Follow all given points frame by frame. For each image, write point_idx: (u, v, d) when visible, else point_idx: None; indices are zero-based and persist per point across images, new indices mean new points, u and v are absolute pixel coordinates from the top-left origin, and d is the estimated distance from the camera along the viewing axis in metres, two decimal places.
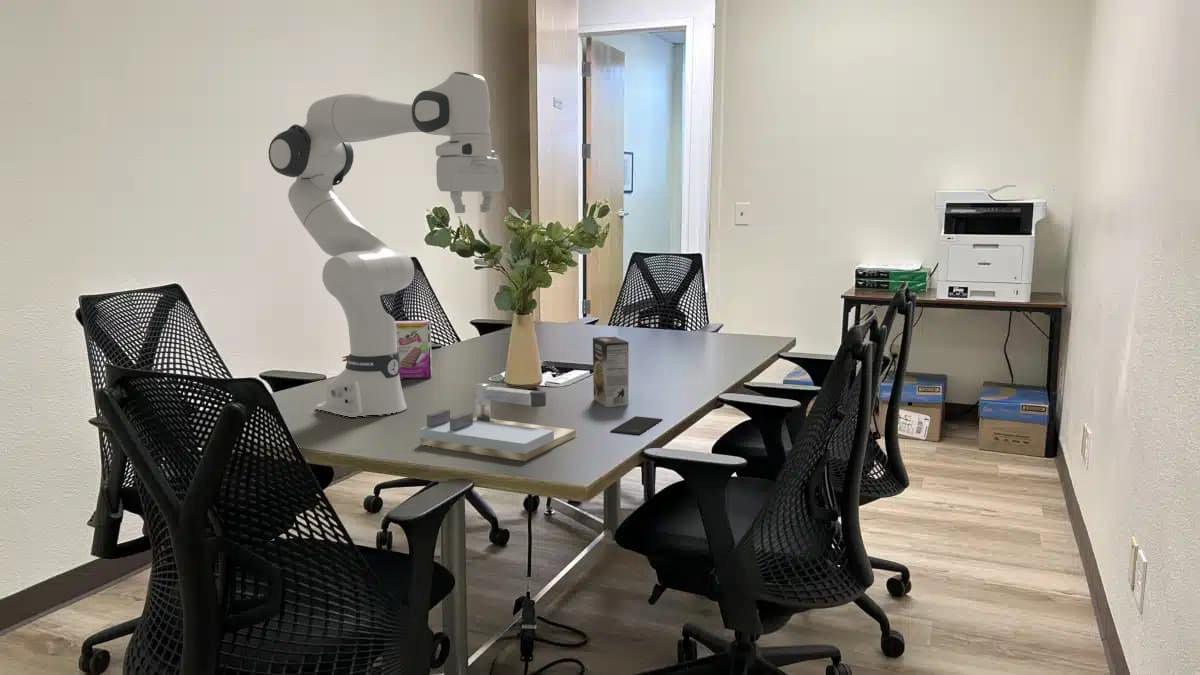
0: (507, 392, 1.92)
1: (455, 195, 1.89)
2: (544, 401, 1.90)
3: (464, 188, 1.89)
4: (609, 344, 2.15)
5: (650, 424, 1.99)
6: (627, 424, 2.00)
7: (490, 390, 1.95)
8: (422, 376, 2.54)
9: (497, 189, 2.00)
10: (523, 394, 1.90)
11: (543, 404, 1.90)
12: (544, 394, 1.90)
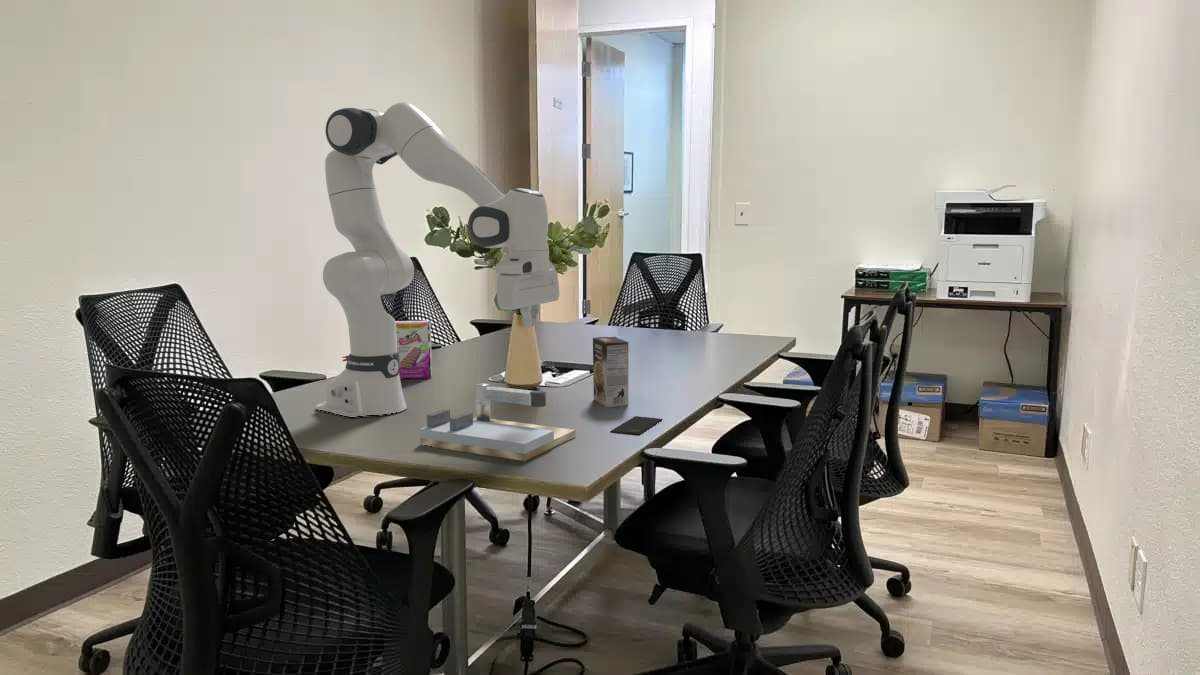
0: (507, 392, 1.92)
1: (525, 309, 1.93)
2: (544, 401, 1.90)
3: (524, 305, 1.90)
4: (609, 344, 2.15)
5: (650, 424, 1.99)
6: (627, 424, 2.00)
7: (490, 390, 1.95)
8: (422, 376, 2.54)
9: (553, 299, 2.01)
10: (523, 394, 1.90)
11: (543, 404, 1.90)
12: (544, 394, 1.90)
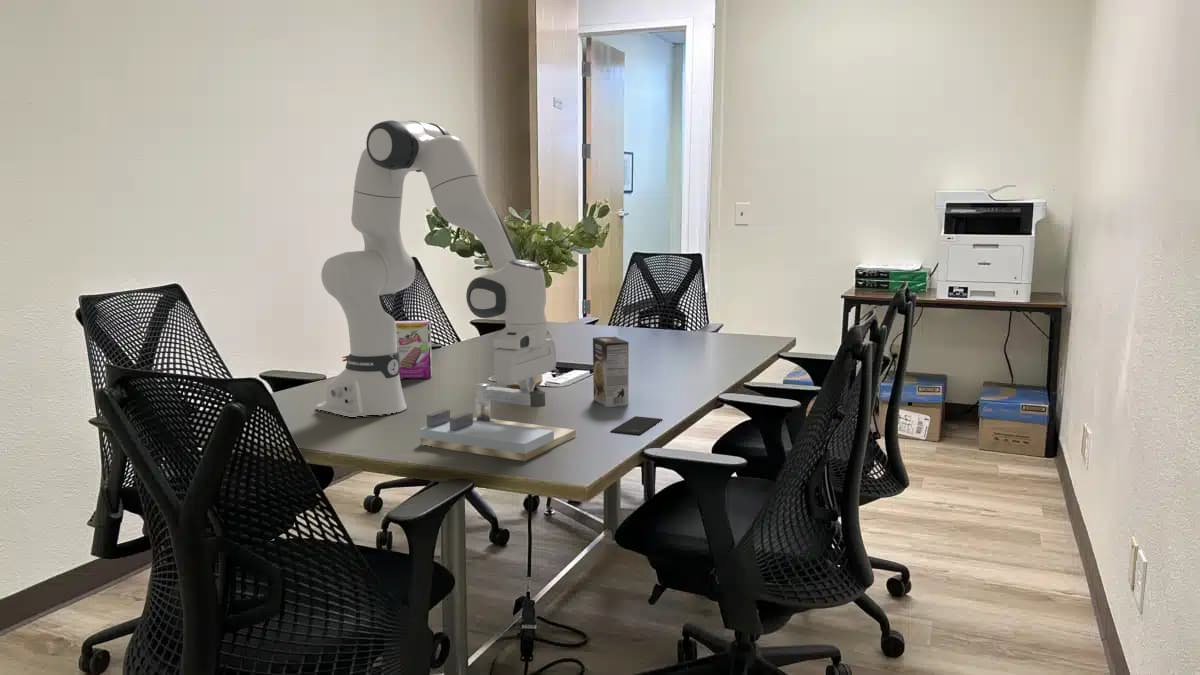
0: (507, 392, 1.92)
1: (523, 381, 1.92)
2: (544, 401, 1.90)
3: (521, 378, 1.89)
4: (609, 344, 2.15)
5: (650, 424, 1.99)
6: (627, 424, 2.00)
7: (490, 390, 1.94)
8: (422, 376, 2.54)
9: (550, 369, 2.00)
10: (522, 394, 1.90)
11: (542, 404, 1.90)
12: (543, 394, 1.90)
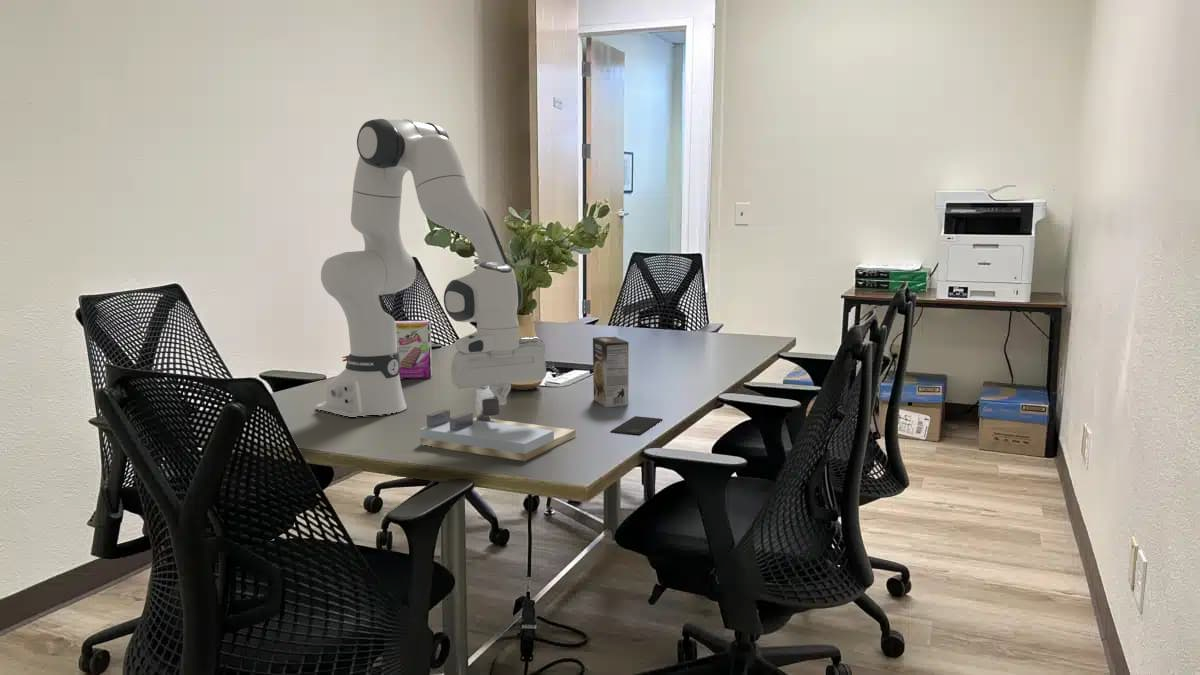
0: (479, 395, 1.90)
1: (491, 387, 1.86)
2: (492, 410, 1.82)
3: (478, 384, 1.84)
4: (609, 344, 2.15)
5: (650, 424, 1.99)
6: (627, 424, 2.00)
7: (477, 391, 1.94)
8: (422, 376, 2.54)
9: (534, 379, 1.89)
10: (481, 400, 1.86)
11: (489, 413, 1.82)
12: (491, 403, 1.82)
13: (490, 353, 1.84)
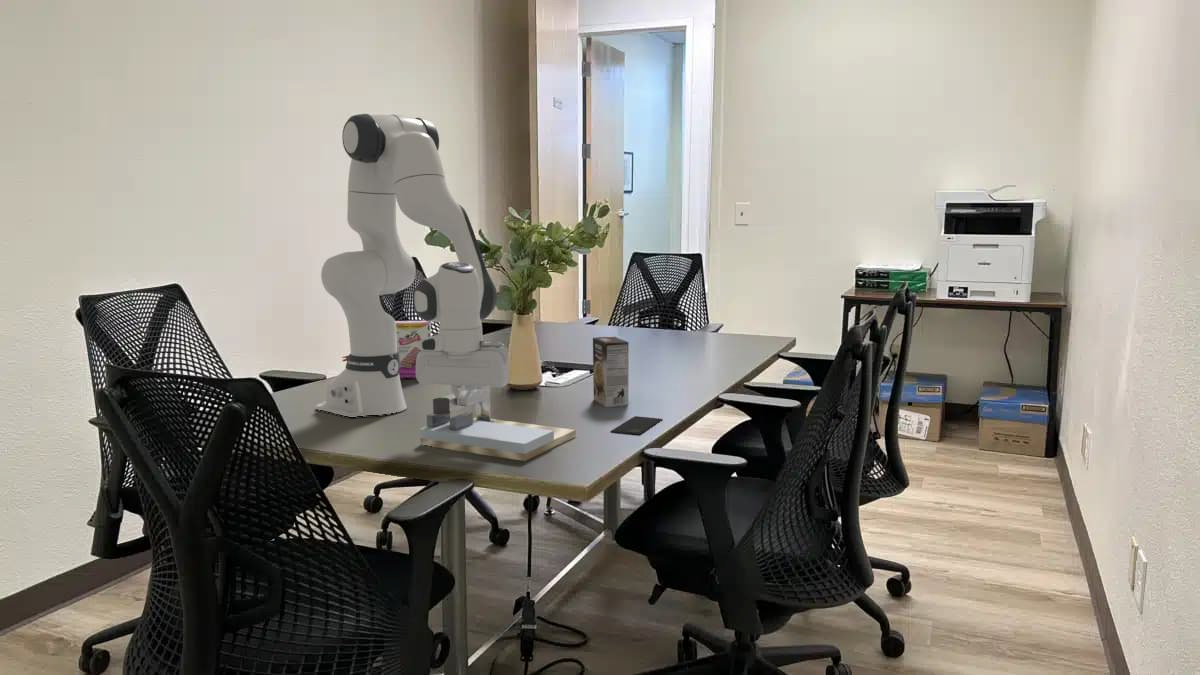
0: None
1: None
2: (436, 409, 1.83)
3: (436, 381, 1.86)
4: (609, 344, 2.15)
5: (650, 424, 1.99)
6: (627, 424, 2.00)
7: None
8: None
9: (491, 384, 1.83)
10: None
11: (435, 412, 1.84)
12: (436, 402, 1.83)
13: (447, 353, 1.84)
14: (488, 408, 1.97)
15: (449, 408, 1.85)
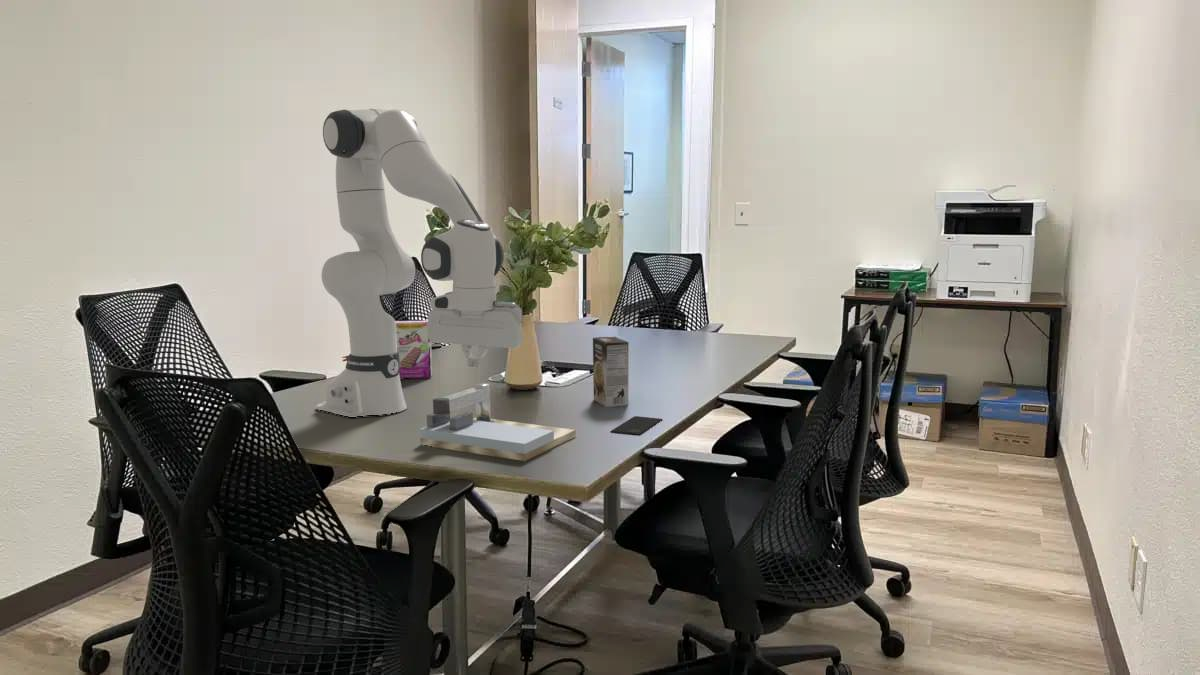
0: None
1: None
2: (436, 409, 1.83)
3: (448, 341, 1.83)
4: (609, 344, 2.15)
5: (650, 424, 1.99)
6: (627, 424, 2.00)
7: None
8: (422, 376, 2.54)
9: (503, 345, 1.80)
10: None
11: (435, 412, 1.84)
12: (436, 402, 1.83)
13: (459, 312, 1.81)
14: (488, 408, 1.97)
15: (449, 408, 1.85)
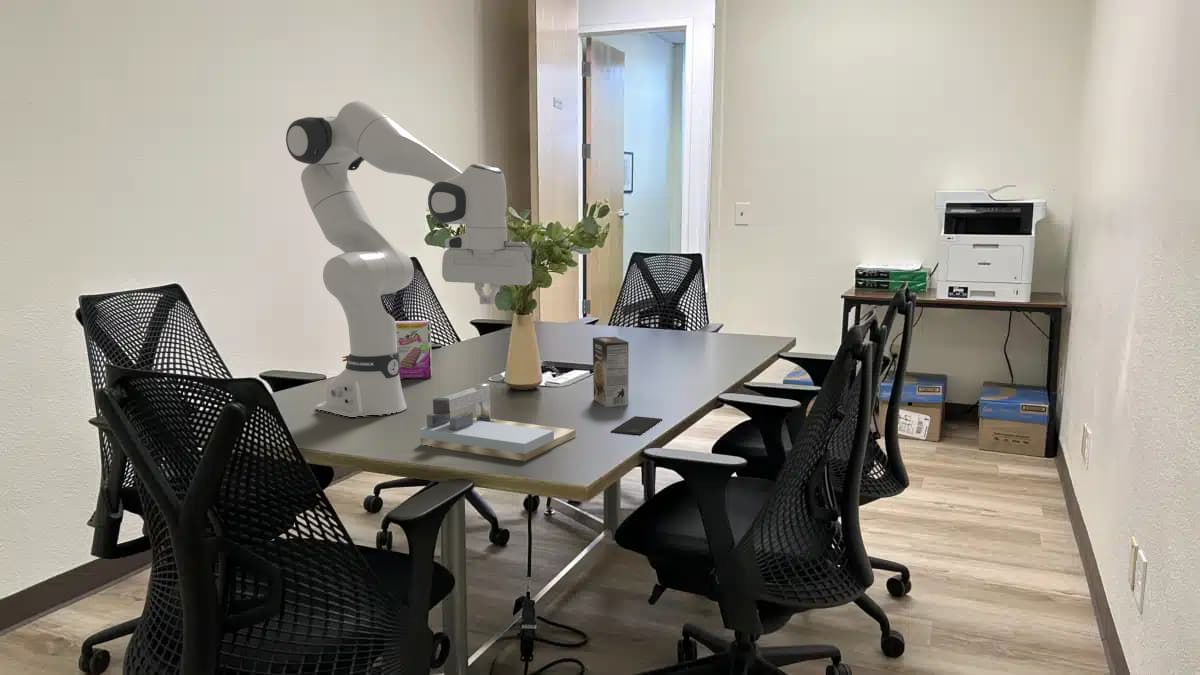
0: None
1: None
2: (436, 409, 1.83)
3: (461, 279, 1.93)
4: (609, 344, 2.15)
5: (650, 424, 1.99)
6: (627, 424, 2.00)
7: None
8: (422, 376, 2.54)
9: (514, 283, 1.90)
10: None
11: (435, 412, 1.84)
12: (436, 402, 1.83)
13: (472, 251, 1.91)
14: (488, 408, 1.97)
15: (449, 408, 1.85)
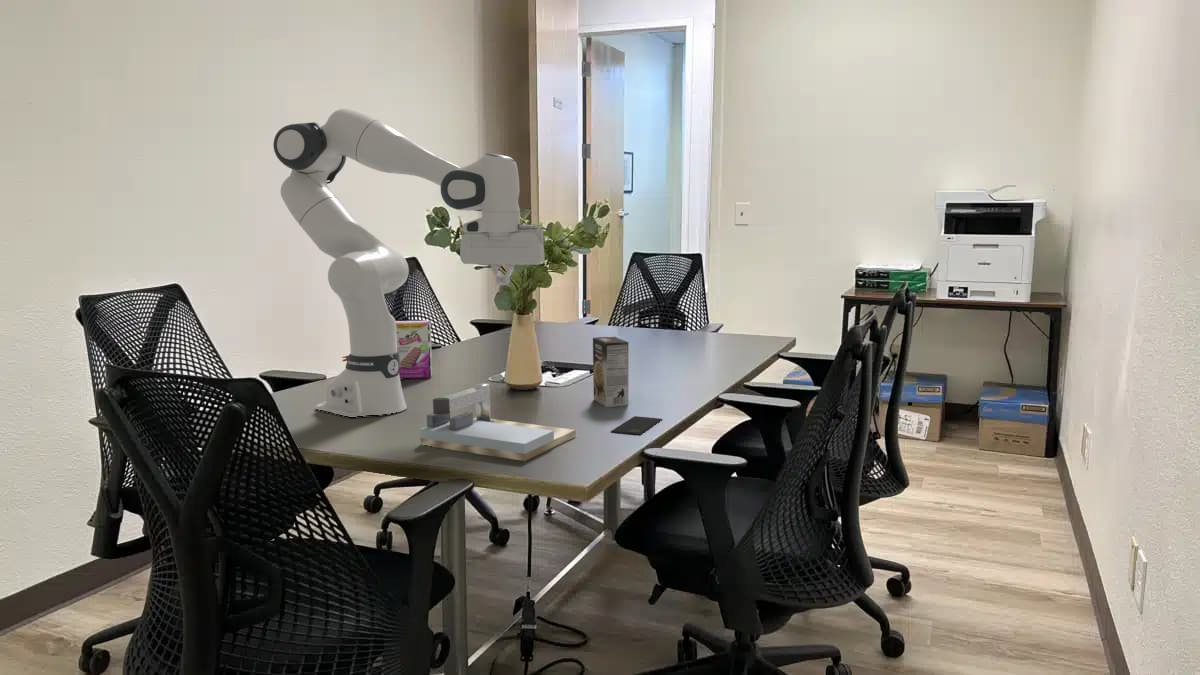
0: None
1: None
2: (436, 409, 1.83)
3: (478, 261, 2.08)
4: (609, 344, 2.15)
5: (650, 424, 1.99)
6: (627, 424, 1.99)
7: None
8: (422, 376, 2.54)
9: (528, 262, 2.04)
10: None
11: (435, 412, 1.84)
12: (436, 402, 1.83)
13: (488, 235, 2.06)
14: (488, 408, 1.97)
15: (449, 408, 1.85)
